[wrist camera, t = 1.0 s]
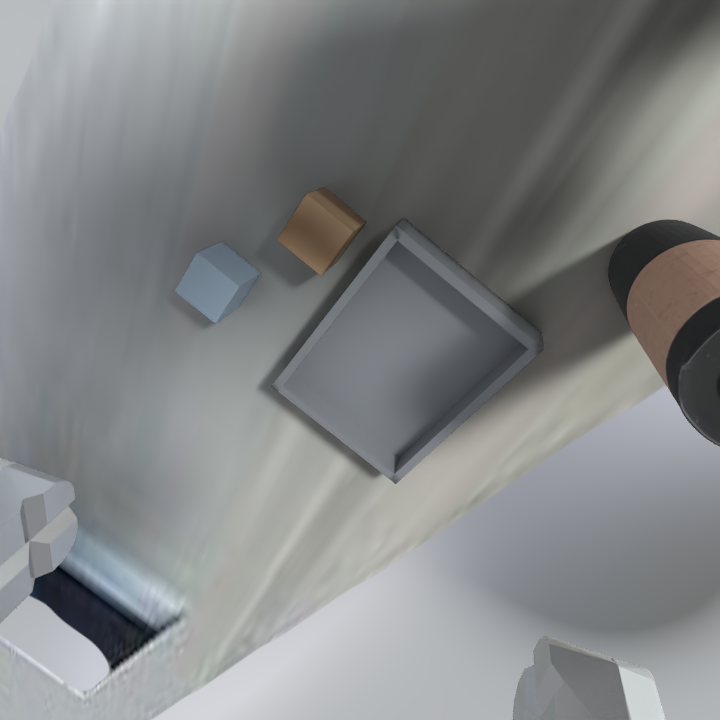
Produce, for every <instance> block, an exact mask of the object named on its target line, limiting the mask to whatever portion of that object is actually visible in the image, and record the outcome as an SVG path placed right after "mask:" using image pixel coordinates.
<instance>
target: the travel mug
mask: <svg viewBox="0 0 720 720" xmlns="http://www.w3.org/2000/svg"><path fill="white" fill-rule="evenodd" d="M608 274H609V281H610V285H611V288H612V290H613V292H614V295H615V297H616V299H617V301H618V303H619V305H620V307H621V309H622V311H623V313H624V315H625V318H626V320H627V322H628V324H629V326H630V328H631V330H632V331H633V333H634V335H635V336H636V338H637V339H638V341H639V343H640V344H641V346H642V347H643V349H644V351H645V352H646V354H647V355H648V357H649V359H650V360H651V362H652V363H653V365H654V366H655V368H656V370H657V371H658V373H659V374H660V376H661V378H662V379H663V381H664V382H665V384H666V386H667V387H668V389H669V390H670V392H671V393H672V395H673V397H674V398H675V400H676V401H677V403H678V405H679V406H680V408H681V410H682V412H683V414H684V416H685V417H686V419H687V420H688V421H689V423H691V425H692V426H693V427H694V428H695V429H696V430H697V431H698V432H699V433H700V434H701V435H703V436H704V437H705V438H706V439H708V440H709V441H711V442H713V443H714V444H716V445H718V446H720V237H719V236H716V235H714V234H712V233H710V232H708V231H705V230H703V229H701V228H699V227H697V226H694V225H692V224H689V223H686V222H683V221H678V220H659V221H654V222H651V223H648V224H645V225H643V226H641V227H639V228H637V229H635V230H634V231H632V232H631V233H629V234H628V235H627V236H626V237H625V238H624V239H623V240H622V241H621V242H620V243H619V245H618V246H617V247H616V249H615V251H614V253H613V255H612V257H611V260H610V264H609V273H608Z"/></svg>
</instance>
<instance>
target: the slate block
mask: <svg viewBox="0 0 720 720" xmlns="http://www.w3.org/2000/svg"><path fill="white" fill-rule="evenodd" d="M259 275H260V272H259V271H258V270H256V269H255V268H254V267H253V266H252V265H250V264H249V263H248V262H247V261H245V260H244V259H243V258H242V257H240V256H239V255H238V254H237V253H235V252H234V251H233V250H232V249H230V248H229V247H228V246H227V245H225V244H224V243H223V242H220V243H218V244H215V245H213V246H211V247H208V248H206V249H204V250H202V251H199V252H197V253H196V255H195V257H194V258H193V260H192V262H191V264H190V265H189V267H188V269H187V271H186V272H185V274H184V276H183V278H182V280H181V281H180V283H179V285H178V287H177V288H176V290H175V292H176V293H177V294H178V295H180V296H181V297H182V298H183V299H185V300H186V301H187V302H188V303H190V304H191V305H192V306H194V307H195V308H196V309H197V310H199V311H200V312H201V313H202V314H204V315H205V316H206V317H208V318H209V319H210V320H211V321H213V322H214V323H215V324H216V323H217V322H219V321H220V320H221V319H223V318H224V317H226V316H227V315H228V314H230V313H231V312H233V311H234V310H235V309H237V308H238V307H239V305H240V304H241V302H242V301H243V299H244V298H245V296H246V295H247V293H248V292H249V290H250V289H251V287H252V285H253V284H254V282H255V281H256V279H257V278H258V276H259Z"/></svg>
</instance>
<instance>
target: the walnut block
mask: <svg viewBox="0 0 720 720" xmlns="http://www.w3.org/2000/svg"><path fill="white" fill-rule="evenodd" d="M365 223H366V221H365V220H363V219H362V218H361V217H360V216H359V215H357V214H356V213H355V212H354V211H353V210H351V209H350V208H349V207H348V206H347V205H345V204H344V203H343V202H342V201H340V200H339V199H338V198H337V197H336V196H334V195H333V194H332V193H331V192H330V191H328V190H327V189H326V188H325V187H323V188H321V189H318V190H315V191H313V192H310V193H308V194H306V196H305V197H304V199H303V200H302V202H301V203H300V205H299V206H298V208H297V209H296V211H295V212H294V214H293V216H292V217H291V219H290V220H289V222H288V223H287V225H286V226H285V228H284V229H283V231H282V232H281V234H280V236H279V237H278V239H277V241H279V242H280V243H281V244H282V245H284V246H285V247H286V248H287V249H288V250H290V251H291V252H292V253H293V254H295V255H296V256H297V257H298V258H300V259H301V260H302V261H303V262H305V263H306V264H307V265H308V266H309V267H311V268H312V269H313V270H314V271H316V272H317V273H318V274H319V275H322V274H323V273H325V272H326V271H327V270H328V269H329V268H331V267H332V266H333V265H334V264H335V263H336V262H337V261H338V260H339V258H340V257H341V256H342V254H343V253H344V252H345V250H346V249H347V247H348V246H349V245H350V243H351V242H352V241H353V239H354V238H355V237H356V235H357V234H358V233H359V231H360V230H361V229H362V227H363V226H364V224H365Z"/></svg>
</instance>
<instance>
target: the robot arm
mask: <svg viewBox="0 0 720 720" xmlns="http://www.w3.org/2000/svg"><path fill="white" fill-rule="evenodd" d="M74 500H75V493H74V486H73V484H72V483H70V482H68V481H66V480H63V479H60V478H58V477H55V476H52V475H49V474H46V473H44V472H41V471H38V470H35V469H33V468H30V467H27V466H24V465H21V464H19V463H15V462H12V461H9V460H6V459H3V458H1V457H0V623H1V622H2V621H3V620H4V619H5V618H6V617H7V616H8V615H9V614H10V613H11V612H12V611H13V610H14V609H15V608H16V607H17V606H18V605H19V604H20V603H21V602H22V601H23V600H24V599H25V598H26V597H27V596H28V595H29V594H30V593H31V592H32V591H33V585H34V580H35V578H37V577H39V576H42V575H44V574H47V573H49V572H52V571H53V570H54V569H55V568H56V567H57V566H58V565H59V564H60V563H61V562H62V561H63V560H64V559H65V558H66V557H67V555H68V553H69V551H70V550H71V548H72V546H73V544H74V543H75V540H76V535H77V531H78V522H77V517H76V516H75V514H74V513H73V511H72V510H71V508H70V507H69V505H70V504H71V503H72V502H73V501H74ZM533 652H534V665H533V666H531V667H528V668H526V669H524V671H523V673H522V676H521V678H520V680H519V682H518V686H517V691H516V696H515V699H514V710H513V720H665V716H664V713H663V709H662V706H661V702H660V699H659V695H658V692H657V688H656V685H655V681H654V678H653V676H652V675H651V673H650V672H649V670H648V669H645V668H642V667H639V666H636V665H633V664H630V663H627V662H624V661H621V660H618V659H615V658H610V657H608V656H606V655H603V654H600V653H597V652H594V651H591V650H587V649H584V648H581V647H578V646H574V645H571V644H568V643H565V642H562V641H559V640H556V639H552V638H549V637H546V636H544V637H542V638H541V639H540V640H539V641H538V643H537V645H536V647H535V649H534V651H533Z"/></svg>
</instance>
